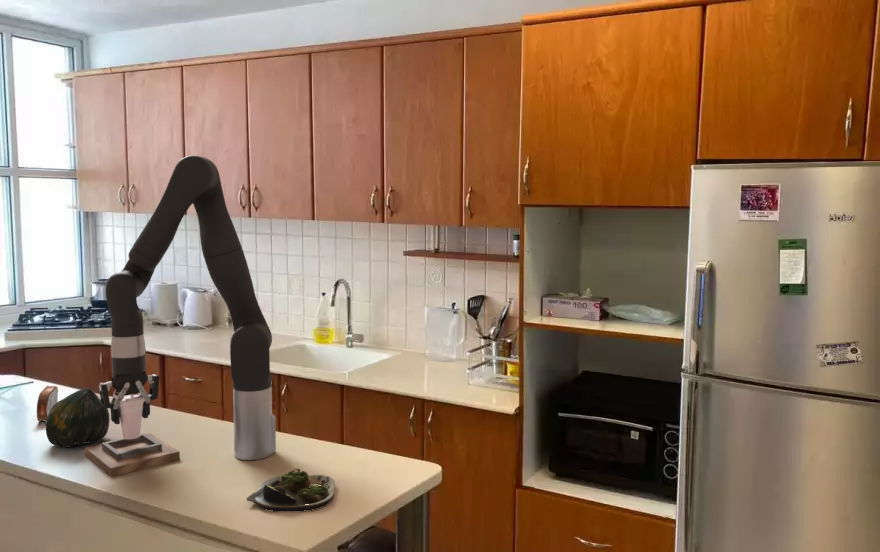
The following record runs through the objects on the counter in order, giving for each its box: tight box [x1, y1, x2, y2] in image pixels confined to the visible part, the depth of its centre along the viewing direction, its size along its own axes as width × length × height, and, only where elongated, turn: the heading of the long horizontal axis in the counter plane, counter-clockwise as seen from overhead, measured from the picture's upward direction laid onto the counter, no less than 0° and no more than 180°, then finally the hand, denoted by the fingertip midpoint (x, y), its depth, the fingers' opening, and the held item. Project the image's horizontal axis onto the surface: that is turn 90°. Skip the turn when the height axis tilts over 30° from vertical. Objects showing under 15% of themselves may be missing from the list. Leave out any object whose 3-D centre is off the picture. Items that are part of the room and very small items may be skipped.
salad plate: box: [246, 468, 336, 512], centre depth 150 cm, size 19×18×5 cm
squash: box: [45, 387, 110, 448], centre depth 179 cm, size 14×15×15 cm
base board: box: [84, 432, 181, 477], centre depth 169 cm, size 16×18×4 cm
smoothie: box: [118, 394, 145, 439], centre depth 168 cm, size 6×6×14 cm
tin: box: [36, 385, 59, 422], centre depth 200 cm, size 15×3×8 cm, turn 17°
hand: (130, 420), depth 169 cm, fingers closed on smoothie, 6 cm apart
